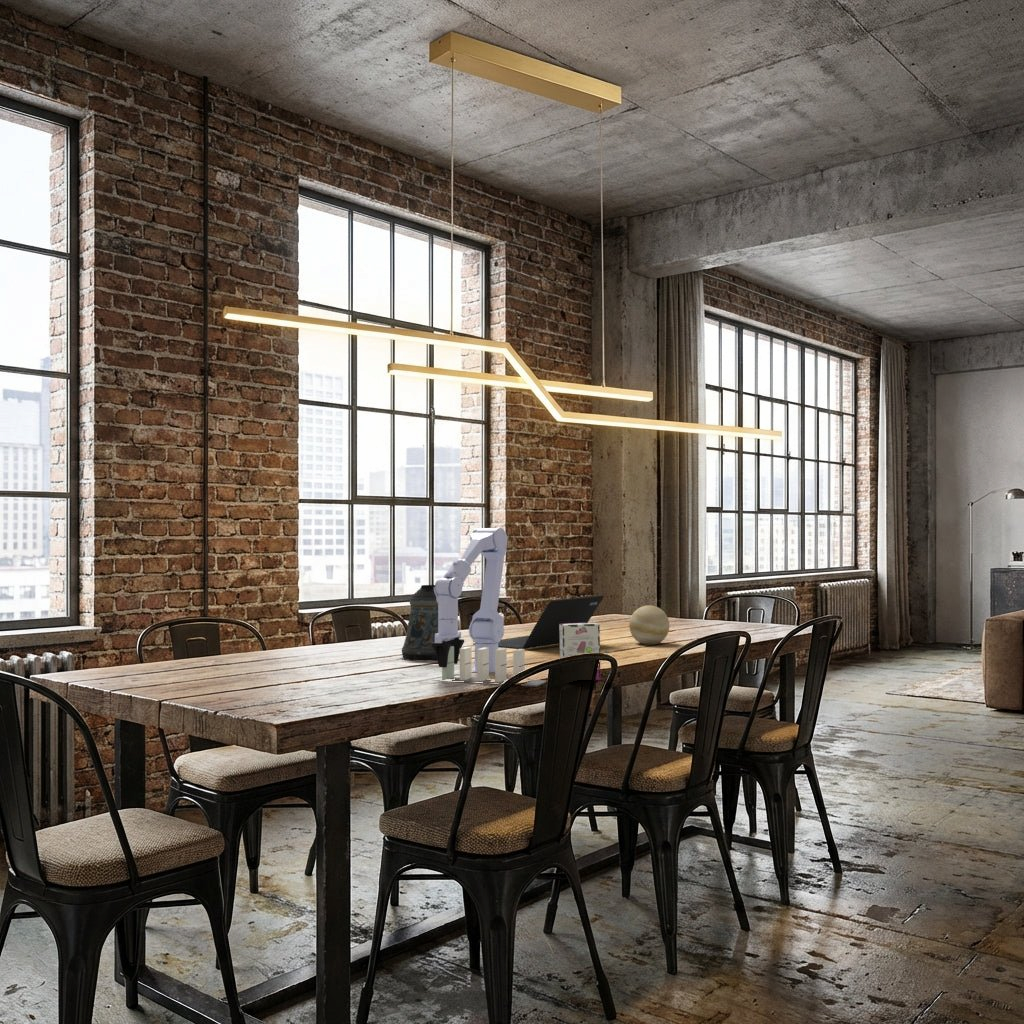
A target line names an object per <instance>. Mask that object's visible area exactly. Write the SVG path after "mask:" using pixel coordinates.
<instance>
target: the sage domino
mask: <svg viewBox="0 0 1024 1024" xmlns="http://www.w3.org/2000/svg"><path fill="white" fill-rule="evenodd" d="M449 678H455V664H454V646H451V647H450V650H449V654H448V662H447V667H441V679H449Z"/></svg>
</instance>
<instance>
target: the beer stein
mask: <svg viewBox="0 0 1024 1024" xmlns="http://www.w3.org/2000/svg"><path fill="white" fill-rule="evenodd" d="M434 587H435V584H424V585H421V586H420V588H419V589H418V590H417V591H416V592H415V593H413V594H412V595H411V596H410V597H409V599H408V601H409V605H410V612H409V617H408V624H407V630H406V635H405V639H404V643H403V645H402V648H401V656H402V659H403V658H404V659H403V660H406V659H409V660H408V661H414V660H435V661H438V660H437V656H436V653H435V651H434V649H433V647H432V643H433V642H435V634H436V633H438V603H437V600H436V595H435V592H434Z"/></svg>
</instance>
